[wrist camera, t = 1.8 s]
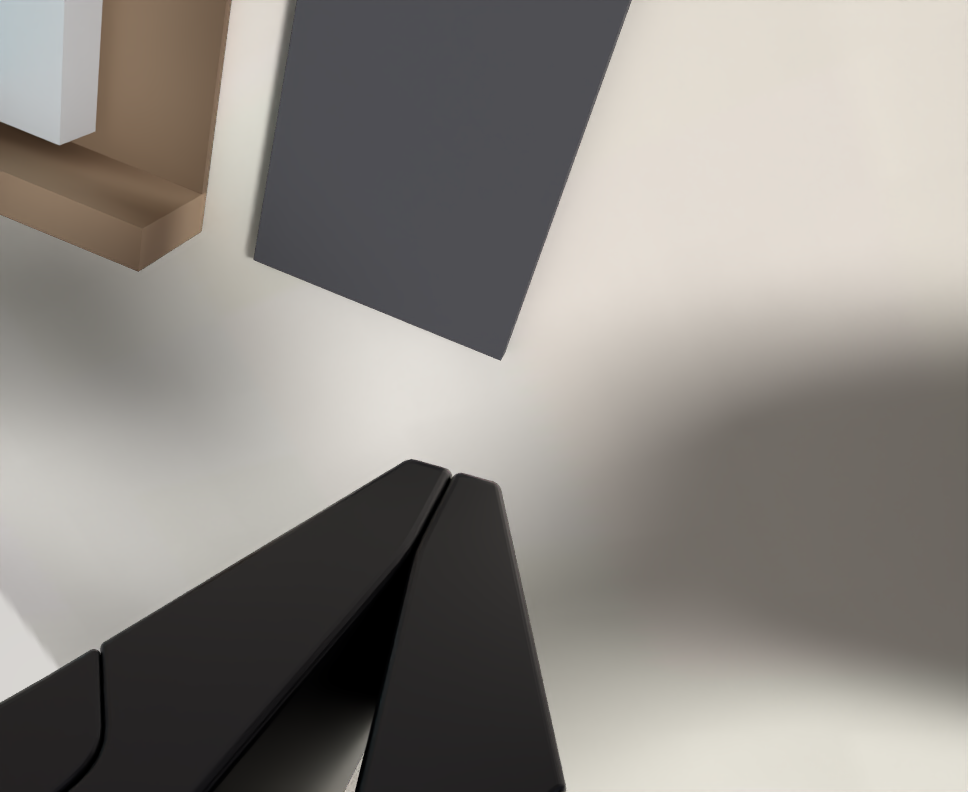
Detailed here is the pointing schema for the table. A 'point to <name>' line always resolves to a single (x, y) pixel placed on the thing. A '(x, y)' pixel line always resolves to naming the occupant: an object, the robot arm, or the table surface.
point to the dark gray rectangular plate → (431, 151)
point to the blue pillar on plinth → (50, 66)
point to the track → (130, 138)
